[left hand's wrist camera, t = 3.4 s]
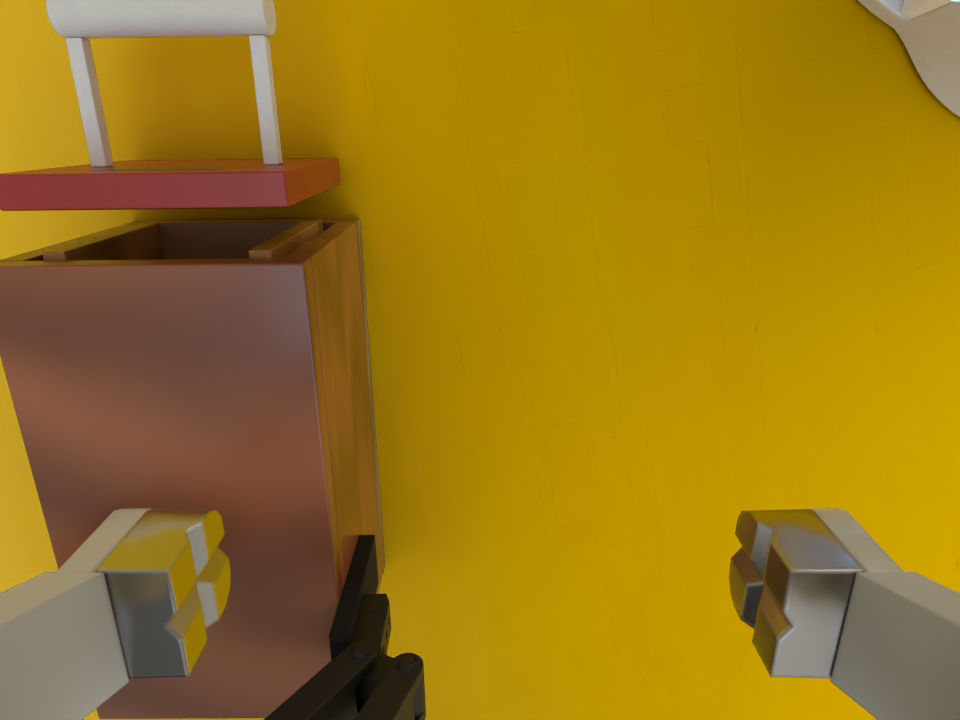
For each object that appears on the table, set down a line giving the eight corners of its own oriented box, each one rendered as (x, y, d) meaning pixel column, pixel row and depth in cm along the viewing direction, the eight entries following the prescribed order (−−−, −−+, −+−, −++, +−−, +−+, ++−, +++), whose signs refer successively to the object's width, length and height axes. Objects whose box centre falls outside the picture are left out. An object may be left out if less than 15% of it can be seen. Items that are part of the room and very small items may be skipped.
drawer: (95, 12, 28) (-62, -33, 20) (326, 9, 28) (262, -38, 20) (189, 514, 37) (104, 626, 28) (366, 512, 37) (333, 625, 28)
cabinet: (132, 221, 32) (-26, 266, 22) (360, 218, 32) (304, 262, 22) (197, 566, 39) (98, 720, 29) (385, 565, 39) (350, 718, 29)
